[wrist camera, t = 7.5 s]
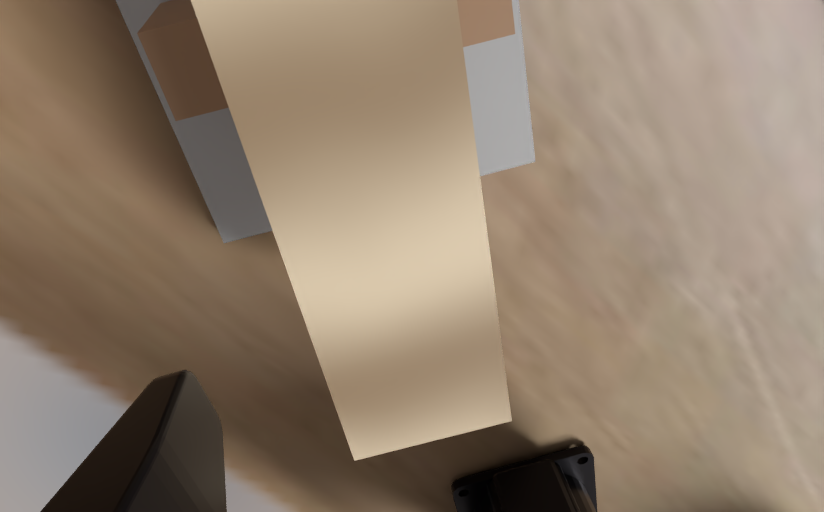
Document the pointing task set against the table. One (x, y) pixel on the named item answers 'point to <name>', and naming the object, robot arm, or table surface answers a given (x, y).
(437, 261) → the beech bar
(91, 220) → the table surface
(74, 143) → the table surface
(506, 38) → the fulcrum stand
